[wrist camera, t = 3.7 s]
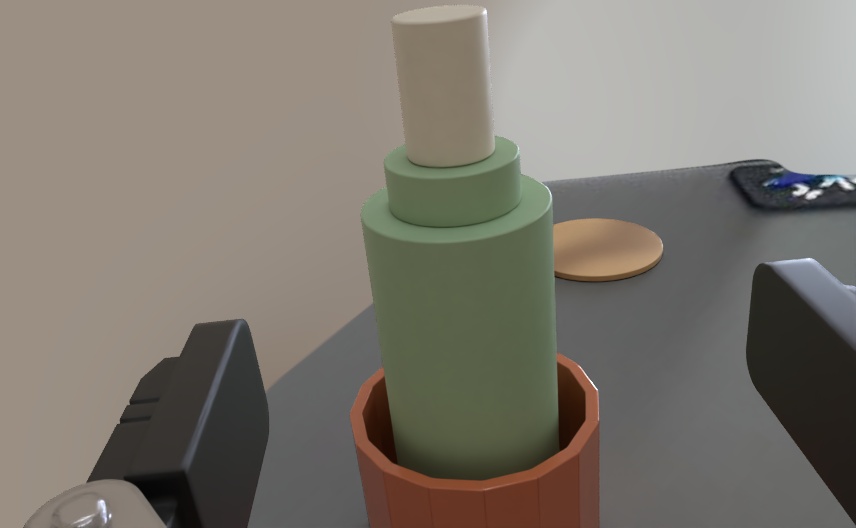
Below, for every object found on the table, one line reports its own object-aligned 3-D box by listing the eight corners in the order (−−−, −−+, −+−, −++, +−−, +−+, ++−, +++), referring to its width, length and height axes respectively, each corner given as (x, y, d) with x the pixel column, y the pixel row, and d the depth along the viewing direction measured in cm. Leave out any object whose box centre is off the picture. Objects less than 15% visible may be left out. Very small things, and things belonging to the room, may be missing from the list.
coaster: (503, 267, 51) (503, 262, 50) (559, 216, 57) (559, 211, 57) (636, 292, 46) (636, 286, 46) (680, 234, 52) (680, 228, 52)
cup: (332, 586, 29) (300, 439, 25) (449, 450, 35) (435, 318, 32) (539, 689, 24) (530, 526, 21) (631, 513, 30) (634, 367, 27)
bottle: (380, 564, 29) (286, 32, 20) (459, 469, 33) (409, -4, 24) (519, 628, 26) (479, 34, 17) (586, 514, 30) (581, -7, 21)
